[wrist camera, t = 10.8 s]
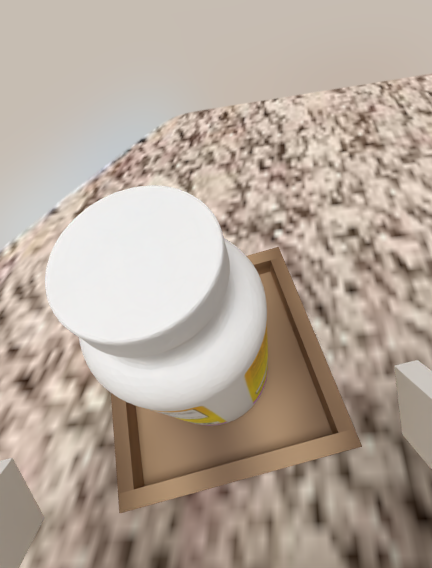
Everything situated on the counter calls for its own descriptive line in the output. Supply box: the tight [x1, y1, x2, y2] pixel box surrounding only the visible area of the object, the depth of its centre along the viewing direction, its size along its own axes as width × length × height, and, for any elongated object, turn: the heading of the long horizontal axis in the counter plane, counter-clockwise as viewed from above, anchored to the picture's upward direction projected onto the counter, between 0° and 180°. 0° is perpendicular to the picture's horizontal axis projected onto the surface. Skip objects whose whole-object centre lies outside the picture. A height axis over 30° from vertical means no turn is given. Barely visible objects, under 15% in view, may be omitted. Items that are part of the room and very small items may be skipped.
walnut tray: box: [111, 247, 362, 513], centre depth 19 cm, size 12×12×2 cm
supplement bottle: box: [45, 186, 268, 425], centre depth 13 cm, size 7×7×13 cm
